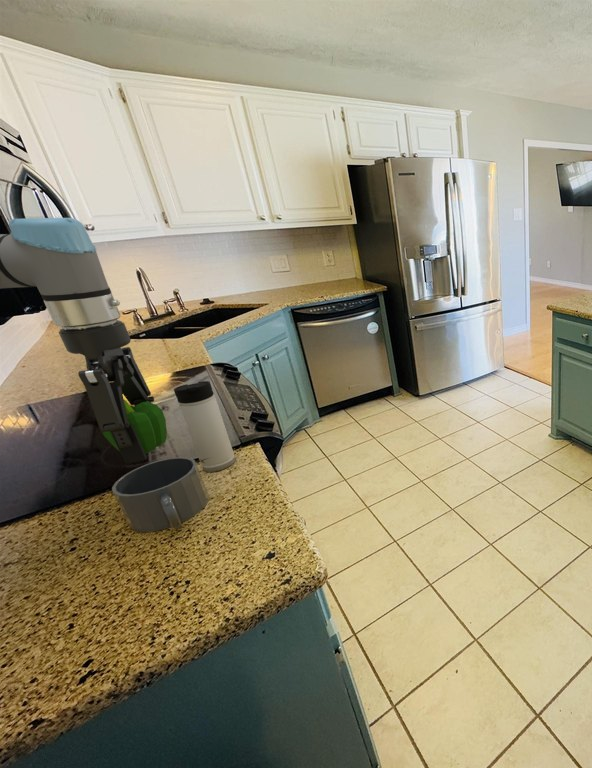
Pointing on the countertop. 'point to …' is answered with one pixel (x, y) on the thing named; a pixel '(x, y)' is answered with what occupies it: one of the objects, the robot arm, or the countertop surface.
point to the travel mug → (205, 425)
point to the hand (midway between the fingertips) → (144, 448)
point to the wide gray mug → (161, 494)
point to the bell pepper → (145, 425)
